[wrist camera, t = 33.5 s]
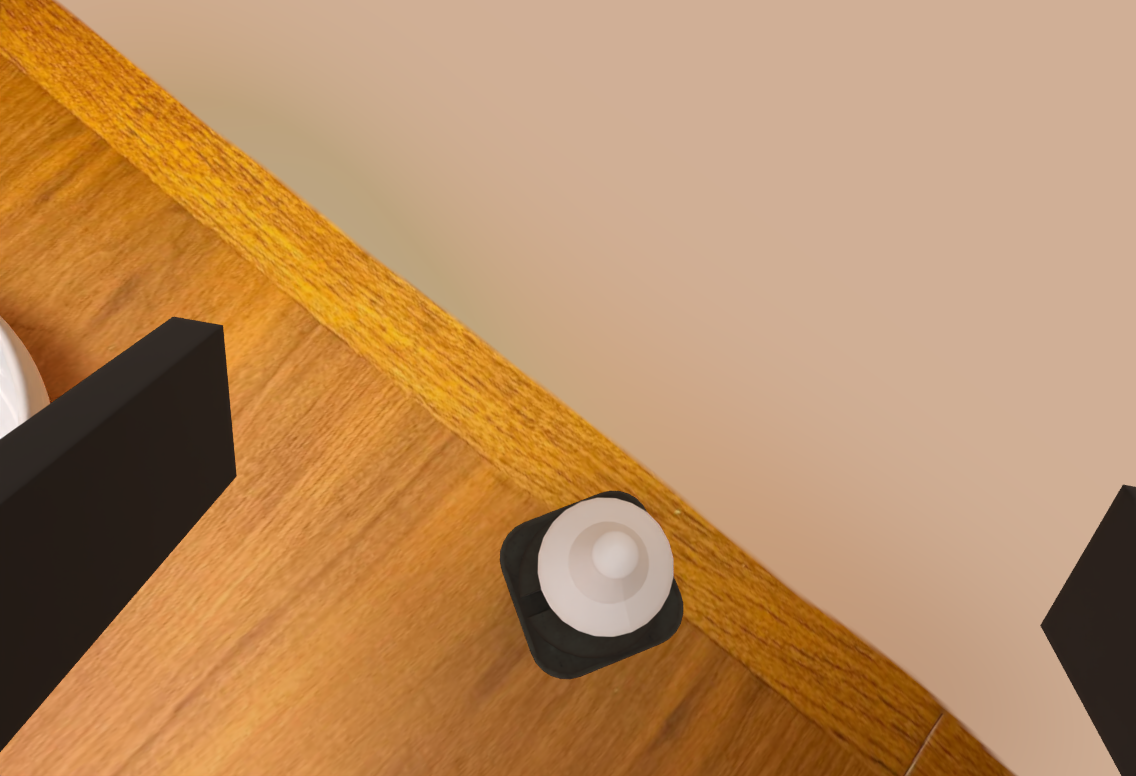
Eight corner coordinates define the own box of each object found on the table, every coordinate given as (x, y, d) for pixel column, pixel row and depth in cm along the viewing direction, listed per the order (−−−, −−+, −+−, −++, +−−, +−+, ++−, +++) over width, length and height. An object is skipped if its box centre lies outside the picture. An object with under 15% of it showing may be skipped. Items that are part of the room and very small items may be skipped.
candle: (651, 624, 37) (816, 643, 13) (550, 666, 37) (528, 764, 13) (611, 522, 38) (694, 369, 14) (512, 560, 38) (427, 467, 14)
